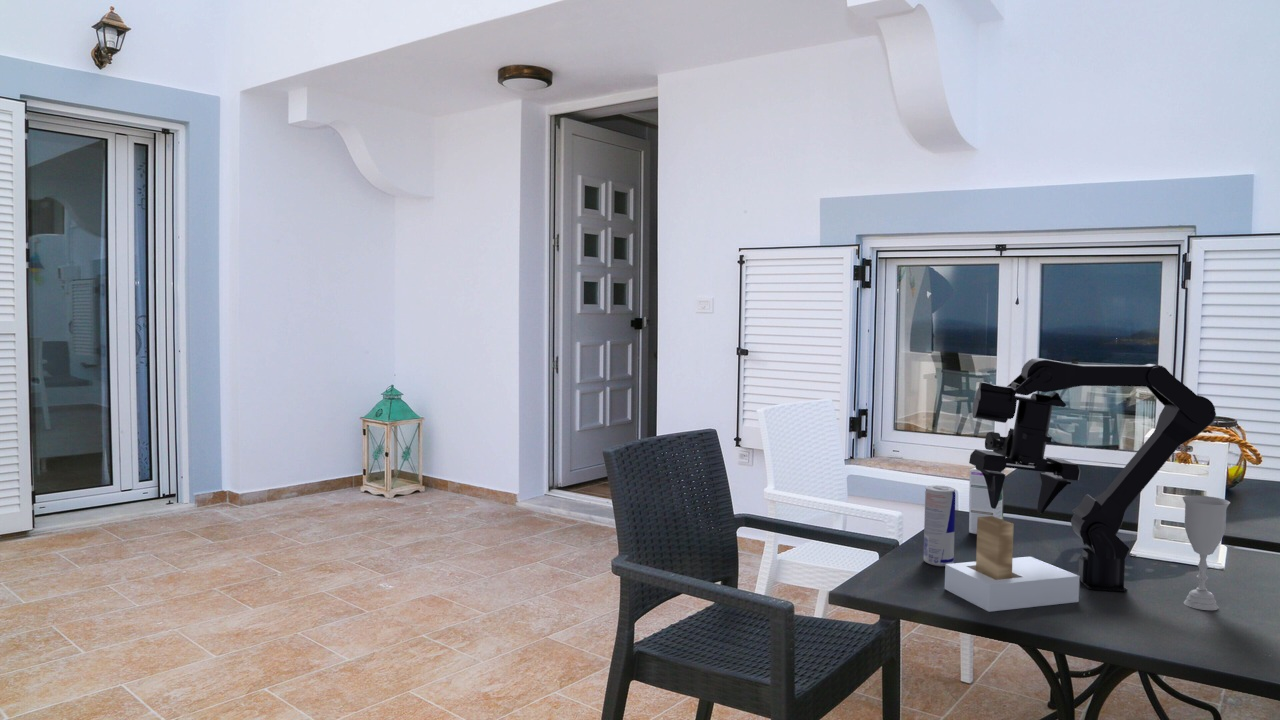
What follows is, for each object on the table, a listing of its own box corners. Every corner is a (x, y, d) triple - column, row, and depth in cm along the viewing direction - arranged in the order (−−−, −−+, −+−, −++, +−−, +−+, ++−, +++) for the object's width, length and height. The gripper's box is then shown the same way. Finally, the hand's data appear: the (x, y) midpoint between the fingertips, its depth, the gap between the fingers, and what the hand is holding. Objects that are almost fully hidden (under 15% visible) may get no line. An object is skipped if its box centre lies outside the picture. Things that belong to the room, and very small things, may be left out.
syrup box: (995, 537, 192) (997, 471, 192) (967, 533, 196) (969, 468, 195) (1003, 532, 197) (1005, 467, 196) (976, 527, 201) (978, 464, 200)
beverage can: (955, 568, 170) (957, 491, 169) (925, 566, 171) (927, 489, 170) (951, 559, 176) (953, 485, 175) (921, 558, 177) (923, 483, 176)
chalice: (1225, 615, 145) (1231, 506, 144) (1177, 607, 149) (1181, 501, 147) (1224, 602, 151) (1229, 498, 150) (1177, 595, 155) (1182, 493, 154)
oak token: (989, 588, 156) (992, 516, 156) (1011, 598, 151) (1013, 523, 150) (975, 590, 156) (977, 517, 155) (996, 600, 150) (998, 524, 150)
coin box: (1029, 580, 163) (1030, 556, 162) (1078, 601, 151) (1079, 575, 151) (944, 589, 158) (945, 564, 157) (988, 611, 146) (989, 585, 146)
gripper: (1052, 424, 170) (1038, 503, 171) (962, 413, 167) (948, 494, 169) (1089, 436, 159) (1073, 520, 160) (992, 424, 156) (977, 510, 158)
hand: (1016, 510), depth 162 cm, fingers open, 9 cm apart
